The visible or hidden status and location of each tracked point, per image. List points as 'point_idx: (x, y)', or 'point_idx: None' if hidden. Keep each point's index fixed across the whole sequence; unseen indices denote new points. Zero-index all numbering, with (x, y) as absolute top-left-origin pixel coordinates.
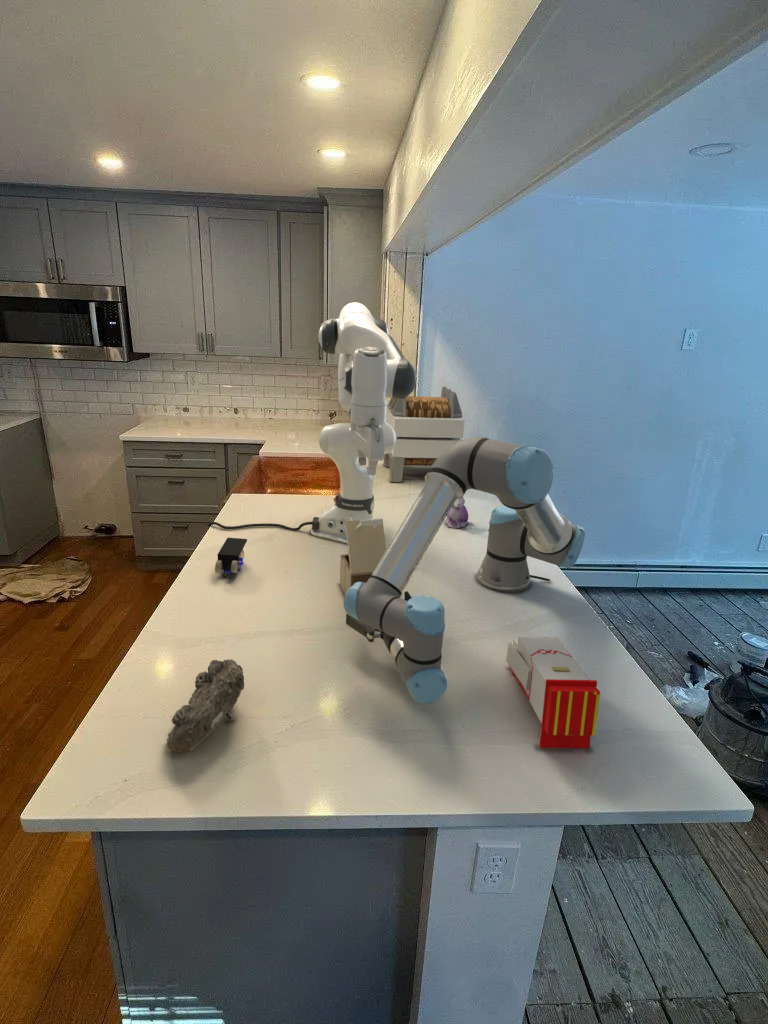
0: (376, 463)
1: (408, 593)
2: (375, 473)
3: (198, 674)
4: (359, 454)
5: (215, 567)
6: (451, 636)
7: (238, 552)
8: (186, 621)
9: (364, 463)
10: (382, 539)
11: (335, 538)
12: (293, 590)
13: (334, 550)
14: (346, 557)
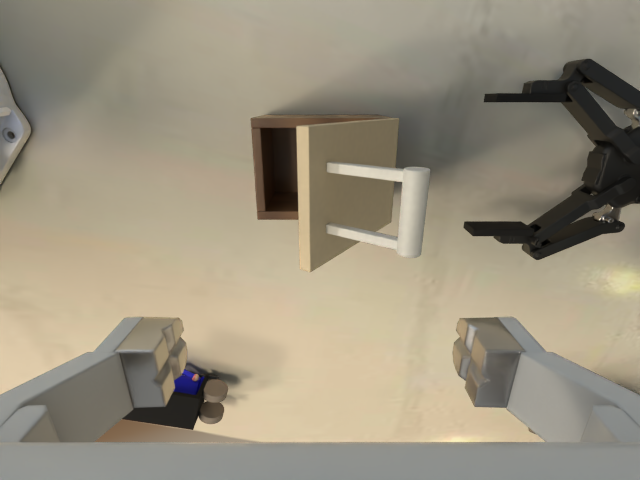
0: (631, 402)
1: (509, 95)
2: (515, 318)
3: (533, 432)
4: (98, 430)
5: (221, 418)
6: (557, 5)
7: (184, 398)
8: (352, 428)
9: (178, 335)
10: (353, 132)
11: (9, 160)
12: (281, 287)
13: (80, 173)
14: (265, 204)
